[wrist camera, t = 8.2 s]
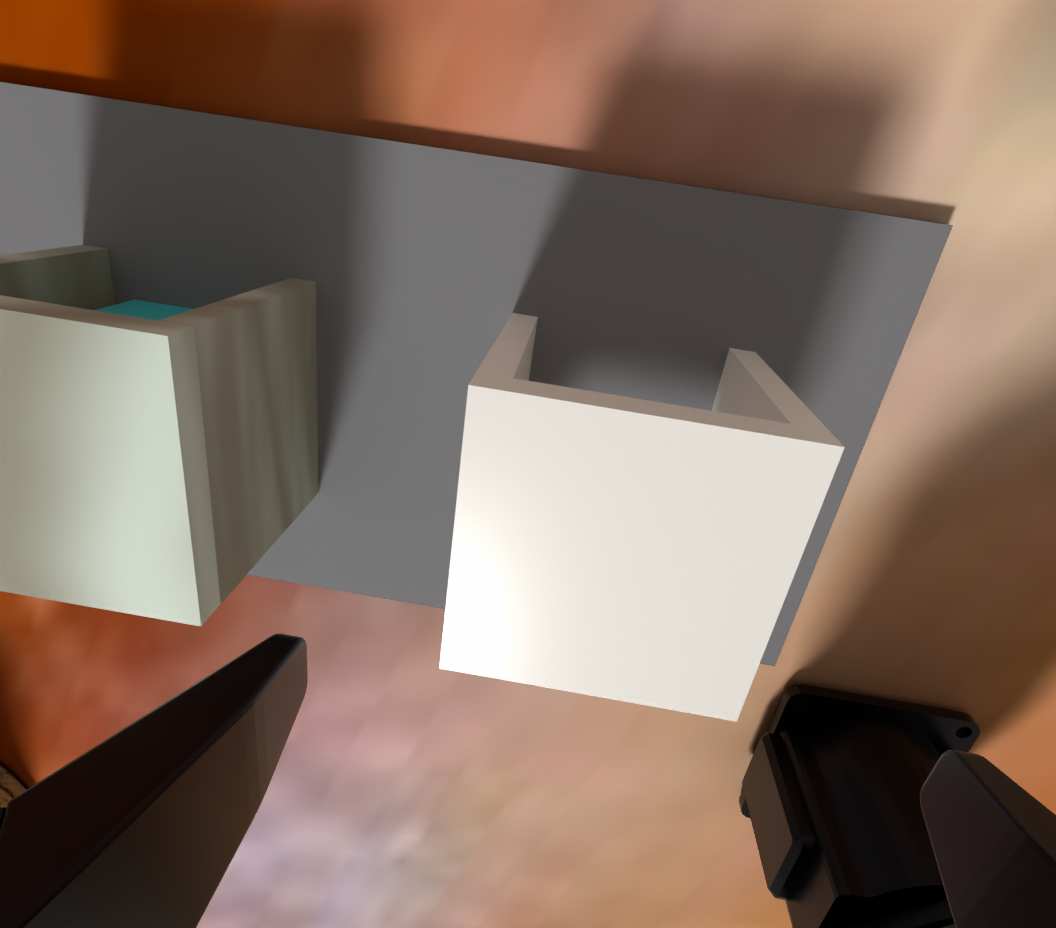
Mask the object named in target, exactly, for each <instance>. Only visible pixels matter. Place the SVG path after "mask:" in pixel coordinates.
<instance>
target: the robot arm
mask: <svg viewBox="0 0 1056 928" xmlns="http://www.w3.org/2000/svg"><path fill="white" fill-rule="evenodd" d="M307 680H308V678H307V645H306V642H305V640H304V639H303V638H301V637H296V636H290V635H285V634H275V635H273V636H271V637H269V638H268V639H266V640H264V641H263V642H261V643H260V644H258V645H256V646H255V647H253V648H252V649H250V650H248V651H247V652H245V653H244V654H242V655H240V656H239V657H237V658H236V659H234V660H233V661H231V662H229V663H228V664H226V665H225V666H223V667H221V668H220V669H218V670H217V671H215V672H213V673H212V674H210V675H209V676H207V677H205V678H204V679H202V680H201V681H199V682H197V683H196V684H194V685H193V686H191V687H190V688H188V689H186V690H185V691H183V692H182V693H180V694H178V695H177V696H175V697H174V698H172V699H170V700H169V701H167V702H166V703H164V704H162V705H161V706H159V707H158V708H156V709H154V710H153V711H151V712H150V713H148V714H147V715H145V716H143V717H142V718H140V719H139V720H137V721H135V722H134V723H132V724H131V725H129V726H127V727H126V728H124V729H123V730H121V731H119V732H118V733H116V734H115V735H113V736H111V737H110V738H108V739H107V740H105V741H103V742H102V743H100V744H99V745H97V746H96V747H94V748H92V749H91V750H89V751H88V752H86V753H84V754H83V755H81V756H80V757H78V758H76V759H75V760H73V761H72V762H70V763H68V764H67V765H65V766H64V767H62V768H60V769H59V770H57V771H56V772H54V773H53V774H51V775H49V776H48V777H46V778H45V779H43V780H41V781H40V782H38V783H37V784H35V785H33V786H32V787H30V788H29V789H27V790H25V791H24V792H22V793H21V794H19V795H17V796H16V797H14V798H13V799H11V800H10V801H9V802H8V803H7V806H6V807H4V806H0V928H196V927H197V925H198V923H199V921H200V919H201V917H202V915H203V914H204V912H205V910H206V908H207V906H208V904H209V902H210V900H211V898H212V897H213V895H214V893H215V891H216V889H217V887H218V885H219V883H220V881H221V879H222V878H223V876H224V874H225V872H226V870H227V868H228V866H229V864H230V862H231V860H232V859H233V857H234V855H235V853H236V851H237V849H238V847H239V845H240V843H241V842H242V840H243V838H244V836H245V834H246V832H247V830H248V828H249V826H250V824H251V823H252V821H253V819H254V817H255V815H256V813H257V811H258V809H259V806H260V804H261V802H262V800H263V798H264V795H265V793H266V791H267V788H268V786H269V783H270V781H271V778H272V776H273V773H274V771H275V769H276V766H277V764H278V761H279V759H280V756H281V754H282V751H283V749H284V746H285V744H286V741H287V739H288V736H289V734H290V731H291V729H292V726H293V724H294V721H295V719H296V716H297V714H298V711H299V709H300V706H301V704H302V701H303V699H304V696H305V693H306V688H307ZM798 699H803V700H800V701H796V700H798ZM979 733H980V729H979V726H978V725H977V723H976V722H975V721H974V719H973V718H972V717H971V716H970V715H969V714H966V713H963V712H957V711H951V710H945V709H940V708H934V707H928V706H922V705H917V704H911V703H905V702H900V701H894V700H888V699H882V698H877V697H871V696H865V695H859V694H854V693H848V692H842V691H836V690H831V689H825V688H819V687H813V686H808V685H793V686H790V687H789V688H787V689H786V690H785V692H784V694H783V696H782V698H781V701H780V703H779V705H778V708H777V710H776V712H775V715H774V717H773V720H772V722H771V724H770V727H769V729H768V731H767V732H766V733H765V734H764V735H763V736H762V737H761V738H760V740H759V743H758V745H757V747H756V750H755V752H754V755H753V757H752V759H751V762H750V764H749V767H748V769H747V771H746V774H745V776H744V779H743V781H742V785H743V791H742V793H741V795H740V798H739V804H740V808H741V812H742V814H743V815H744V816H746V817H748V818H751V821H752V826H753V830H754V834H755V838H756V842H757V846H758V850H759V854H760V858H761V862H762V866H763V870H764V874H765V878H766V883H767V887H768V889H769V891H770V892H771V893H772V895H773V896H774V897H775V898H778V899H783V900H785V901H786V905H787V908H788V912H789V916H790V920H791V923H792V927H793V928H1056V815H1055V814H1054V813H1052V812H1051V811H1050V810H1049V809H1047V808H1046V807H1045V806H1044V805H1042V804H1041V803H1040V802H1039V801H1038V800H1036V799H1035V798H1034V797H1033V796H1031V795H1030V794H1029V793H1028V792H1026V791H1025V790H1024V789H1023V788H1021V787H1020V786H1019V785H1018V784H1017V783H1015V782H1014V781H1013V780H1012V779H1010V778H1009V777H1008V776H1007V775H1005V774H1004V773H1003V772H1002V771H1000V770H999V769H998V768H997V767H996V766H994V765H993V764H992V763H991V762H989V761H988V760H987V759H985V758H984V757H982V756H980V755H978V754H974V753H968V751H969V750H970V748H971V747H972V745H973V743H974V742H975V740H976V739H977V737H978V736H979Z"/></svg>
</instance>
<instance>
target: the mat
mask: <svg viewBox="0 0 1056 928" xmlns="http://www.w3.org/2000/svg"><path fill="white" fill-rule="evenodd" d="M952 226H953V225H947V224H940V223H933V222H927V221H920V220H913V219H907V218H900V217H894V216H887V215H880V214H874V213H867V212H860V211H854V210H847V209H841V208H834V207H827V206H821V205H814V204H807V203H801V202H794V201H787V200H781V199H774V198H768V197H761V196H754V195H748V194H741V193H734V192H728V191H721V190H714V189H708V188H701V187H695V186H688V185H681V184H675V183H668V182H661V181H655V180H648V179H641V178H635V177H628V176H622V175H615V174H608V173H602V172H595V171H588V170H582V169H575V168H569V167H562V166H555V165H549V164H542V163H535V162H529V161H522V160H515V159H509V158H502V157H496V156H489V155H482V154H476V153H469V152H462V151H456V150H449V149H442V148H436V147H429V146H423V145H416V144H409V143H403V142H396V141H389V140H383V139H376V138H369V137H363V136H356V135H350V134H343V133H336V132H330V131H323V130H316V129H310V128H303V127H297V126H290V125H283V124H277V123H270V122H263V121H257V120H250V119H243V118H237V117H230V116H224V115H217V114H210V113H204V112H197V111H190V110H184V109H177V108H170V107H164V106H157V105H151V104H144V103H137V102H131V101H124V100H117V99H111V98H104V97H97V96H91V95H84V94H78V93H71V92H64V91H58V90H51V89H44V88H38V87H31V86H25V85H18V84H11V83H5V82H0V255H7V254H14V253H22V252H30V251H38V250H46V249H54V248H62V247H69V246H77V245H88V246H94V247H100V248H107V249H108V256H109V262H110V269H111V276H112V283H113V289H114V296H115V303H116V304H120V303H123V302H127V301H131V300H141V301H147V302H154V303H160V304H166V305H172V306H178V307H185V308H191V309H196V308H199V307H202V306H205V305H208V304H211V303H215V302H218V301H221V300H224V299H227V298H230V297H233V296H236V295H239V294H242V293H245V292H249V291H252V290H255V289H258V288H261V287H264V286H267V285H270V284H273V283H276V282H279V281H283V280H286V279H289V278H296V279H302V280H309V281H315V282H316V319H317V414H318V494H317V495H316V496H315V497H314V499H313V500H312V501H311V502H310V503H309V504H308V505H307V507H306V508H305V509H304V510H303V511H302V512H301V513H300V514H299V516H298V517H297V518H296V519H295V520H294V521H293V522H292V524H291V525H290V526H289V527H288V528H287V529H286V530H285V532H284V533H283V534H282V535H281V536H280V537H279V538H278V539H277V541H276V542H275V543H274V544H273V545H272V546H271V547H270V549H269V550H268V551H267V552H266V553H265V554H264V555H263V557H262V558H261V559H260V560H259V561H258V562H257V563H256V565H255V566H254V567H253V568H252V569H251V570H250V571H249V572H248V574H247V575H253V576H258V577H264V578H270V579H276V580H281V581H287V582H293V583H299V584H304V585H310V586H316V587H322V588H327V589H333V590H339V591H345V592H351V593H356V594H362V595H368V596H374V597H379V598H385V599H391V600H397V601H402V602H408V603H414V604H420V605H426V606H431V607H437V608H443V609H445V607H446V598H447V588H448V578H449V568H450V559H451V549H452V539H453V529H454V520H455V510H456V500H457V491H458V481H459V471H460V461H461V452H462V442H463V432H464V422H465V413H466V403H467V393H468V385H469V383H470V381H471V380H472V378H473V376H474V375H475V373H476V372H477V370H478V368H479V367H480V365H481V363H482V362H483V360H484V358H485V357H486V355H487V354H488V352H489V350H490V349H491V347H492V345H493V344H494V342H495V340H496V339H497V337H498V336H499V334H500V332H501V331H502V329H503V327H504V326H505V324H506V322H507V321H508V319H509V318H510V316H511V314H512V313H517V314H523V315H529V316H536V317H538V320H537V327H536V334H535V341H534V348H533V354H532V361H531V368H530V375H529V381H533V382H540V383H546V384H552V385H558V386H564V387H570V388H576V389H582V390H588V391H594V392H600V393H606V394H612V395H618V396H625V397H631V398H637V399H643V400H649V401H655V402H661V403H667V404H673V405H679V406H685V407H691V408H697V409H703V410H709V411H712V408H713V404H714V401H715V397H716V393H717V390H718V386H719V383H720V379H721V376H722V372H723V369H724V365H725V362H726V358H727V355H728V351H729V348H734V349H740V350H746V351H752V352H756V353H757V354H758V355H759V356H760V357H761V358H762V359H763V361H764V362H765V363H766V364H767V365H768V366H769V367H770V368H771V369H772V370H773V371H774V372H775V373H776V374H777V375H778V377H779V378H780V379H781V380H782V381H783V382H784V383H785V384H786V385H787V386H788V387H789V388H790V389H791V390H792V391H793V393H794V394H795V395H796V396H797V397H798V398H799V399H800V400H801V401H802V402H803V403H804V404H805V405H806V406H807V407H808V409H809V410H810V411H811V412H812V413H813V414H814V415H815V416H816V417H817V418H818V419H819V420H820V421H821V422H822V423H823V424H824V426H825V427H826V428H827V429H828V430H829V431H830V432H831V433H832V434H833V435H834V436H835V437H836V438H837V439H838V440H839V442H840V443H841V444H842V445H843V446H844V447H845V448H844V450H843V453H842V455H841V458H840V461H839V463H838V466H837V468H836V471H835V473H834V476H833V478H832V481H831V483H830V486H829V488H828V491H827V494H826V496H825V499H824V501H823V504H822V506H821V509H820V511H819V514H818V516H817V519H816V521H815V524H814V527H813V529H812V532H811V534H810V537H809V539H808V542H807V544H806V547H805V549H804V552H803V554H802V557H801V560H800V562H799V565H798V567H797V570H796V572H795V575H794V577H793V580H792V582H791V585H790V587H789V590H788V593H787V595H786V598H785V600H784V603H783V605H782V608H781V610H780V613H779V615H778V618H777V620H776V623H775V626H774V628H773V631H772V633H771V636H770V638H769V641H768V643H767V646H766V648H765V651H764V653H763V656H762V659H761V661H760V664H766V665H772V666H775V664H776V662H777V659H778V657H779V654H780V652H781V649H782V647H783V644H784V642H785V639H786V637H787V634H788V632H789V630H790V627H791V625H792V622H793V620H794V617H795V615H796V612H797V610H798V607H799V605H800V602H801V600H802V597H803V595H804V592H805V590H806V587H807V585H808V583H809V580H810V578H811V575H812V573H813V570H814V568H815V565H816V563H817V560H818V558H819V555H820V553H821V550H822V548H823V545H824V543H825V540H826V538H827V536H828V533H829V531H830V528H831V526H832V523H833V521H834V518H835V516H836V513H837V511H838V508H839V506H840V503H841V501H842V498H843V496H844V493H845V491H846V488H847V486H848V484H849V481H850V479H851V476H852V474H853V471H854V469H855V466H856V464H857V461H858V459H859V456H860V454H861V451H862V449H863V446H864V444H865V441H866V439H867V437H868V434H869V432H870V429H871V427H872V424H873V422H874V419H875V417H876V414H877V412H878V409H879V407H880V404H881V402H882V399H883V397H884V394H885V392H886V389H887V387H888V385H889V382H890V380H891V377H892V375H893V372H894V370H895V367H896V365H897V362H898V360H899V357H900V355H901V352H902V350H903V347H904V345H905V342H906V340H907V338H908V335H909V333H910V330H911V328H912V325H913V323H914V320H915V318H916V315H917V313H918V310H919V308H920V305H921V303H922V300H923V298H924V295H925V293H926V290H927V288H928V286H929V283H930V281H931V278H932V276H933V273H934V271H935V268H936V266H937V263H938V261H939V258H940V256H941V253H942V251H943V248H944V246H945V243H946V241H947V239H948V236H949V234H950V231H951V229H952Z"/></svg>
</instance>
